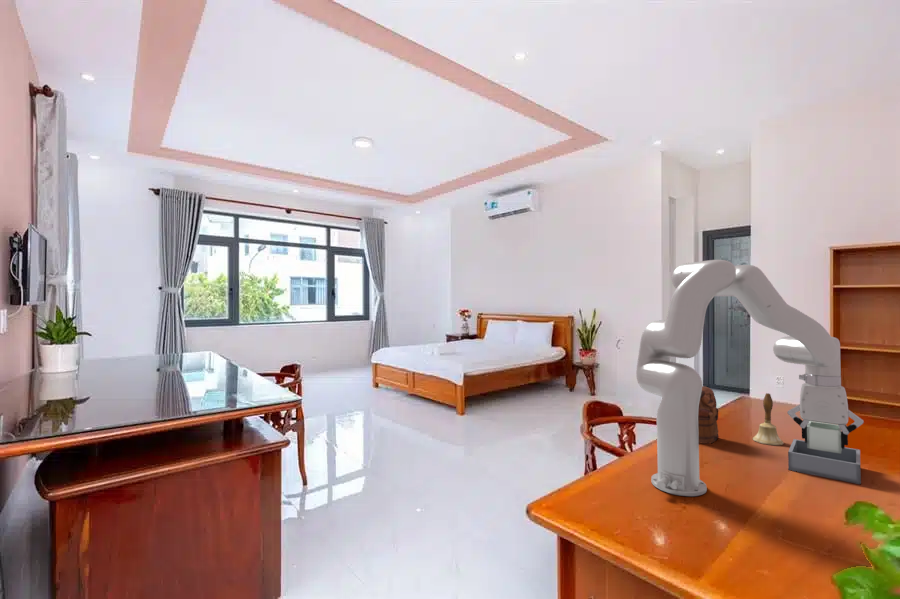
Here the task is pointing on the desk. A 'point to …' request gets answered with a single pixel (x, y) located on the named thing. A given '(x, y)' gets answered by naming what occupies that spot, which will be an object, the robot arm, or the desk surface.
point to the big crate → (825, 462)
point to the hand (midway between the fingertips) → (824, 443)
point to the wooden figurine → (707, 416)
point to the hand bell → (768, 426)
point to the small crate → (824, 437)
